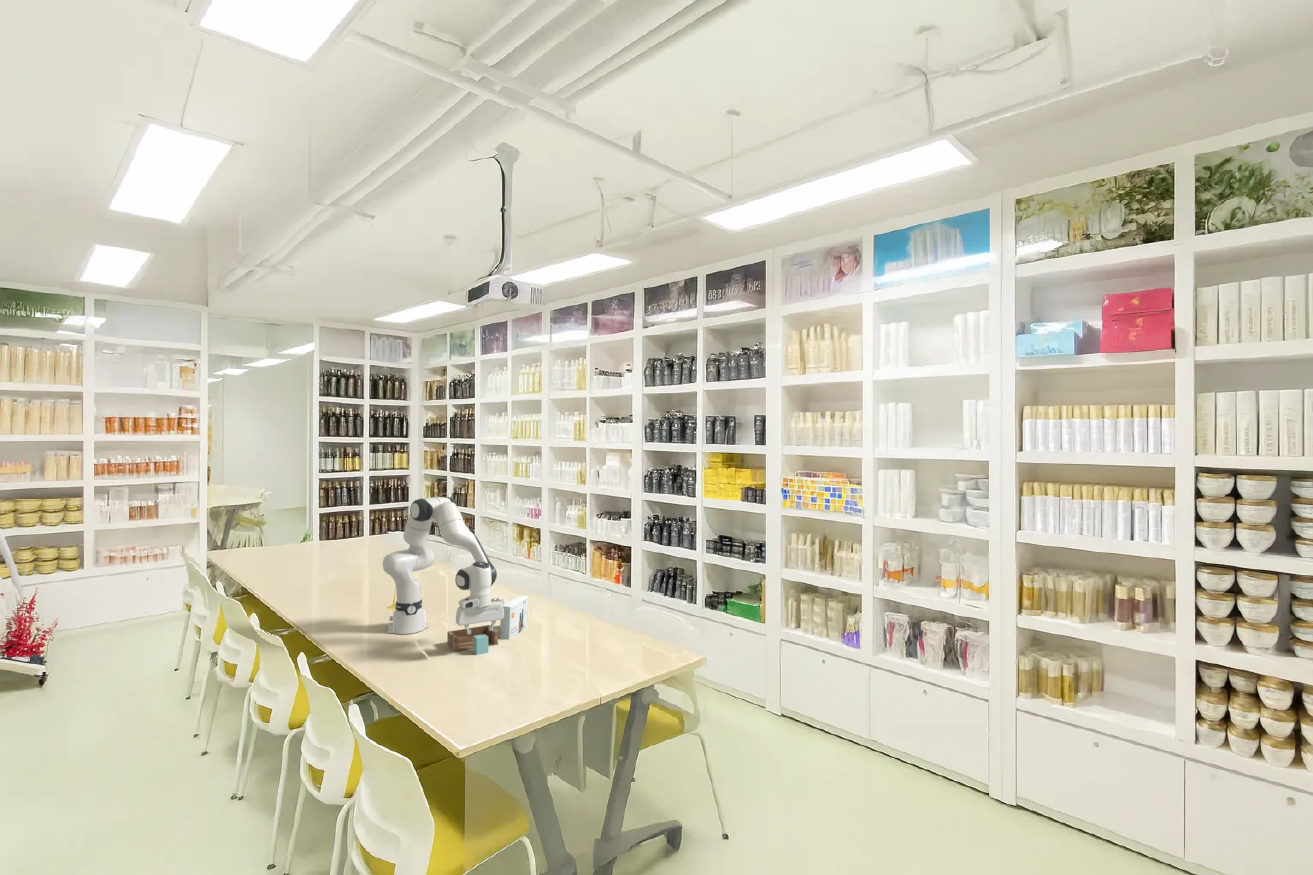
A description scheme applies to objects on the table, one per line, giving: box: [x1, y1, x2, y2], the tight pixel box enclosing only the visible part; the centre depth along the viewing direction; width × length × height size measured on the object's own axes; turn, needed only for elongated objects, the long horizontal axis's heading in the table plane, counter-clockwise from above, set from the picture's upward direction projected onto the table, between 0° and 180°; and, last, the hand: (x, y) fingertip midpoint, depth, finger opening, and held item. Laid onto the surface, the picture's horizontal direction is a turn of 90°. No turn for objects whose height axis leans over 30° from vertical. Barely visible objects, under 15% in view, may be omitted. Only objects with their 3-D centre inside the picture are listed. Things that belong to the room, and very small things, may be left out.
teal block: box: [472, 634, 489, 656], centre depth 271 cm, size 5×5×7 cm
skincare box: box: [499, 595, 529, 640], centre depth 299 cm, size 21×6×16 cm, turn 168°
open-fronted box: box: [446, 624, 499, 653], centre depth 281 cm, size 12×19×6 cm, turn 123°
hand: (480, 632), depth 271 cm, fingers open, 8 cm apart
